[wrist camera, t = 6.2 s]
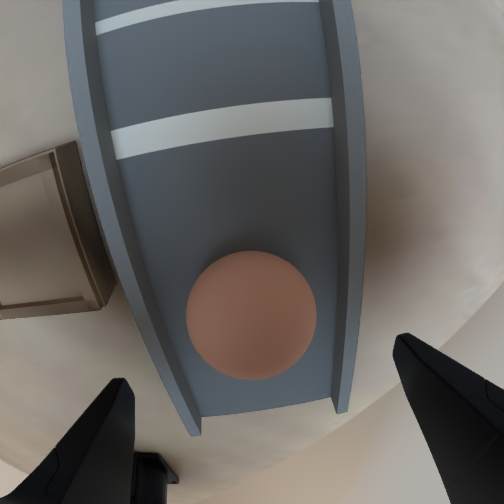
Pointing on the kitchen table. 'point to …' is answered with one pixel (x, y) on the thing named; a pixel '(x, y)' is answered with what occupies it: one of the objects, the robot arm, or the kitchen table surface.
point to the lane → (226, 172)
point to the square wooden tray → (50, 239)
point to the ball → (251, 315)
